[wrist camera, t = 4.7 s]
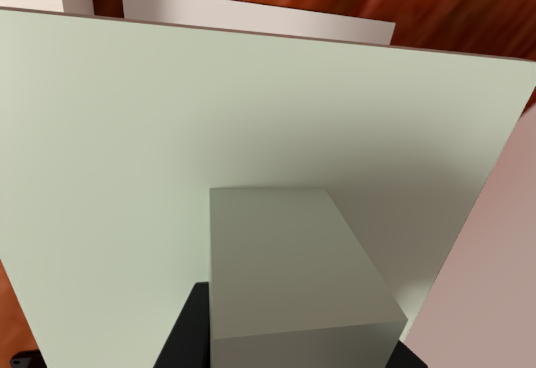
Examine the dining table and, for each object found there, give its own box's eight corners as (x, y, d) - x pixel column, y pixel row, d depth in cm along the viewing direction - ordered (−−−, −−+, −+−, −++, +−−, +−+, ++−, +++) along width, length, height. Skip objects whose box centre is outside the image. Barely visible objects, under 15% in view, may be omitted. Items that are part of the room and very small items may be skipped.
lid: (380, 352, 15) (448, 488, 11) (74, 389, 12) (8, 589, 8) (518, 57, 8) (828, 116, 4) (-74, -2, 6) (-814, -3, 2)
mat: (336, 223, 26) (338, 226, 26) (145, 226, 23) (144, 230, 22) (392, 22, 19) (395, 23, 18) (123, -15, 15) (121, -15, 15)
